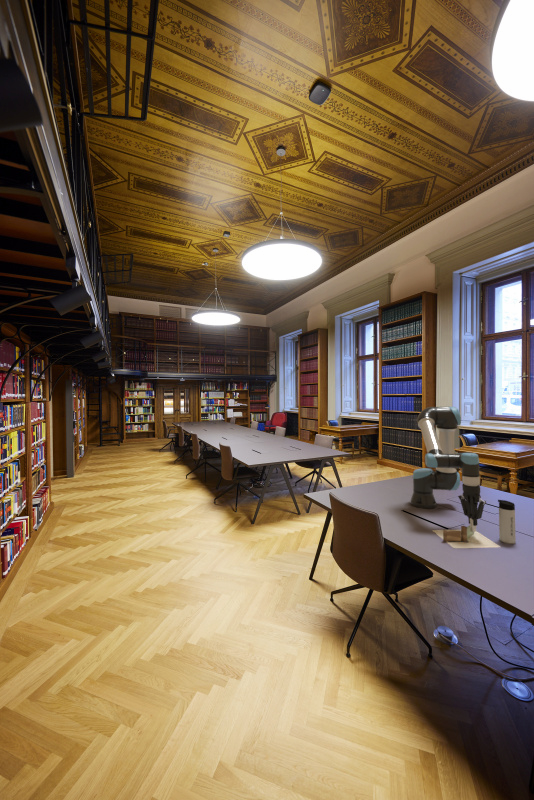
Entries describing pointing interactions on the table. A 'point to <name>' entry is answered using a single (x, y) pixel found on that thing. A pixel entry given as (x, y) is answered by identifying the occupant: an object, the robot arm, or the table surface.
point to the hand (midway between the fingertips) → (473, 531)
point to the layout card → (470, 541)
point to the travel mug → (507, 522)
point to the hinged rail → (469, 532)
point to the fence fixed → (455, 535)
